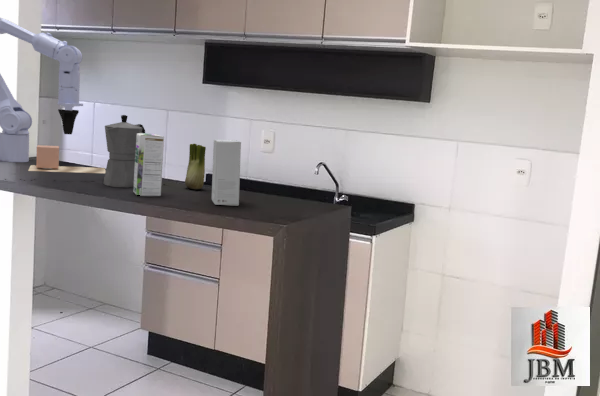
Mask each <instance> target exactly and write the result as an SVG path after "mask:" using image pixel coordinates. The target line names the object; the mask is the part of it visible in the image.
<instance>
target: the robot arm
mask: <svg viewBox="0 0 600 396" xmlns="http://www.w3.org/2000/svg"><path fill="white" fill-rule="evenodd" d="M5 34H7V35H10V36H12V37H15V38H17V39H19V40H21V41H24V42H26V43H28V44H31V46H32V48H33V50H34V51H35V52H37V53H39V54H41V55H44V56H46V57H48V58H50V59H52V60H55V61H58V63H59V69H58V94H57V95H58V98H57V99H58V100H57V105H58V106H63V107H64V109H62V108H59V109H58V110H57V111H58V113H59V115H60V118H61V124H62V130H63V134H64V135H72V134H73V132H74V131H73V130H74V125H75V121H76V119H77V116H78V115H79V113H80V111H79V110H78V109H73V108H74V107H84V103H80V80H81V79H80V78H81V72H80V71H81V70H80V67H81V65H80V64H81V63H82V61H83V54H82V52H81V50H80V49H79V48H77V47H76V46H75V45H69V44H68V41H66V40H63V41H62V40H60V39H58V38H57V37H53V34H52V33H49V32H43V31H42V32H39V33H35V32H33V31H31V30H28V29H26V28H24V27H22V26H21V25H19V24H16V23H14V22H12V21H11V20H9V19H6V18H2V17H0V35H5ZM32 124H33V118H32V116H31V115H30V113H28V111H26V110H25V109H24V108H23V106H22V105H21V104H20V102H18V101H17V100H16V99H15V97H14V96H13V93H12V92H11V90H10V89H9V87H8V85H7V83H6V81H5V80H4V77H3V76H2V74H1V73H0V128H1V132H0V161H1V162H2V161H3V162H9V163H27V162H28V163H29V162H30V161H29V160H30V159H29V158H30V154H29V153H30V131H29V129H30V128H31V126H32Z"/></svg>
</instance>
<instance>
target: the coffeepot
mask: <svg viewBox="0 0 600 396" xmlns="http://www.w3.org/2000/svg"><path fill="white" fill-rule="evenodd" d="M120 118H121V122H115V123H112V124H106V125H104V131H105V140H106V149H107V150H106V151H107V152H108V153H109V158H108V160H107V164H106V168H105V170H106V172H105V174H104V177H103V182H102V183H103V185H104V186H107V187H111V188H112V187H114V188H134V168H135V153H136V136H137V133H146V129H145V127H144V125H143V124H141V123H138V124H133V123H131V122H130V123H129V122H128V120H127V119H128V115H125V114H121V115H120Z"/></svg>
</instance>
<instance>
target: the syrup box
mask: <svg viewBox="0 0 600 396" xmlns="http://www.w3.org/2000/svg"><path fill="white" fill-rule="evenodd" d="M164 144H165V136H162V135H160V134H155V133H149V132H145V133H137V136H136V153H135V168H134V187H133V188H132V191H133V193H134V194H135V195H136V196H137V195H140V196H139V197H161V196H162V182H163V181H162V180H163V164H164V162H163V161H164V147H165V145H164Z"/></svg>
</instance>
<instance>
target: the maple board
mask: <svg viewBox="0 0 600 396" xmlns="http://www.w3.org/2000/svg"><path fill="white" fill-rule="evenodd" d="M27 171H28V172H51V173H76V174H77V173H81V174H84V173H85V174H104V175H105V172H106V168H105V167H94V166H93V167H90V166H89V167H88V166H87V167H85V166H64V165H63V166H60V165H59V168H52V169H42V168H36V165H35V164H31V165H30V166H29V168H28V169H27Z"/></svg>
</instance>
